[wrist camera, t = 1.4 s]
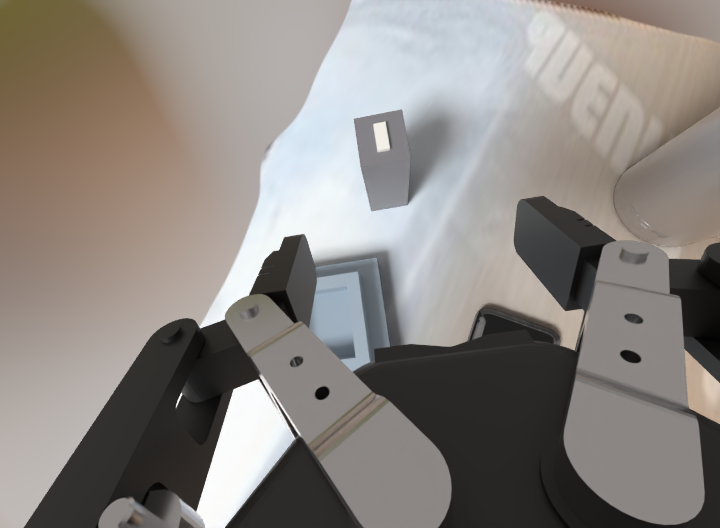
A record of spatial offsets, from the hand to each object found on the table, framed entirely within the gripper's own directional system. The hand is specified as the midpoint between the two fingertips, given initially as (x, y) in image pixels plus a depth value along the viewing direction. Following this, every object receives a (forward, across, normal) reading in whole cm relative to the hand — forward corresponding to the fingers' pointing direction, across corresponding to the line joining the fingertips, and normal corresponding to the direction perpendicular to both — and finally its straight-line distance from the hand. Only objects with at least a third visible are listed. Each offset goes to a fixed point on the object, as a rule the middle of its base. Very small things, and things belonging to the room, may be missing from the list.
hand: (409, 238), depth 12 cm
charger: (+23, 0, +7) cm, 24 cm away
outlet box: (+14, +8, +17) cm, 23 cm away
